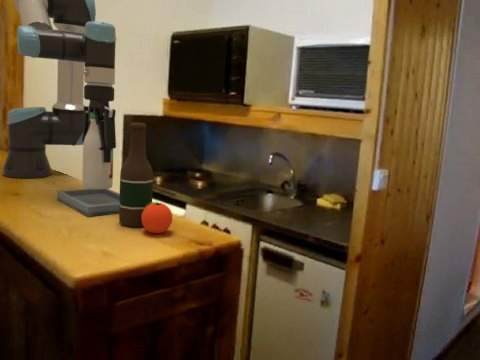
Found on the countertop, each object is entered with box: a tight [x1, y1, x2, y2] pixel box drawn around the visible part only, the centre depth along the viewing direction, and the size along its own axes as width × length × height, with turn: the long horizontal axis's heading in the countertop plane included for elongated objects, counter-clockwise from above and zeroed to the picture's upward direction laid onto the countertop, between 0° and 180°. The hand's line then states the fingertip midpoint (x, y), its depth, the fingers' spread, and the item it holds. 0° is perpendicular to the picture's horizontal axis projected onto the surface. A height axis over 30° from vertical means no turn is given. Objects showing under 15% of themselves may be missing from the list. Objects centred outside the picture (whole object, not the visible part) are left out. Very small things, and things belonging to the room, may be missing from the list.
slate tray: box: [56, 188, 120, 218], centre depth 122 cm, size 20×14×2 cm
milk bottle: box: [82, 112, 114, 190], centre depth 119 cm, size 8×8×20 cm
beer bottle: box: [118, 122, 154, 229], centre depth 105 cm, size 8×8×24 cm
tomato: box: [141, 201, 173, 234], centre depth 101 cm, size 8×7×7 cm
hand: (97, 171), depth 120 cm, fingers closed on milk bottle, 8 cm apart
